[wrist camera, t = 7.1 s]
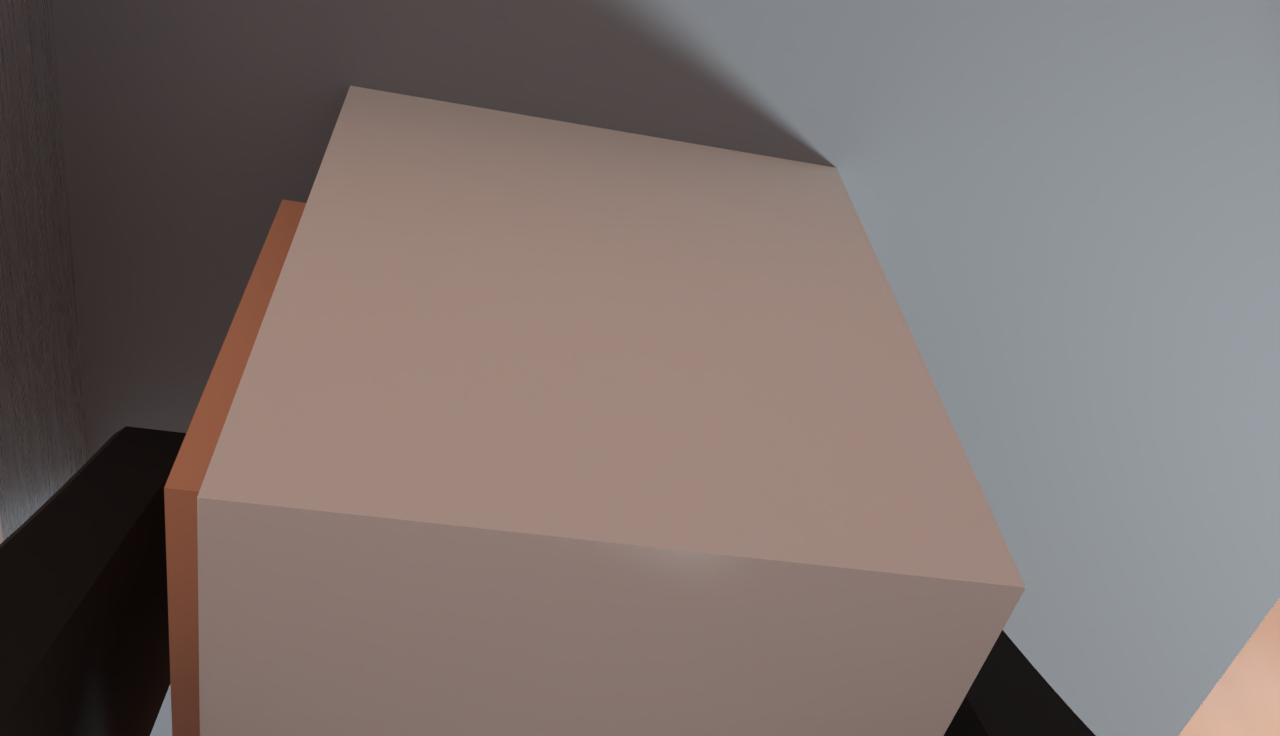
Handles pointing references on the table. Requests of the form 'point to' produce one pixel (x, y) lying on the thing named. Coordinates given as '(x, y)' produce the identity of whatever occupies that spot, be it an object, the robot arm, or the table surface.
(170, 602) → the carton
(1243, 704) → the table surface
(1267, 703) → the table surface
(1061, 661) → the grey tray
